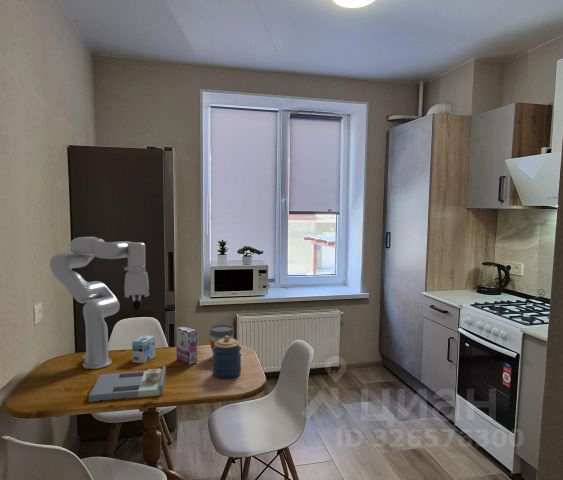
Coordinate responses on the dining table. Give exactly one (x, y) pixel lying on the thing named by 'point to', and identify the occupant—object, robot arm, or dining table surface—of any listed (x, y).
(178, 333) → the candy bar box
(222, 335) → the reusable coffee cup
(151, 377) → the clear glass block
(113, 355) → the dining table surface
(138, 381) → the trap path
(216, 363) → the canister
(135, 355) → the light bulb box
